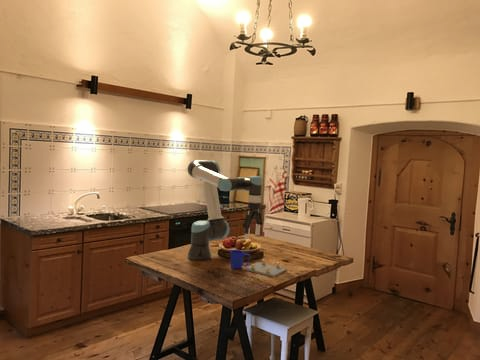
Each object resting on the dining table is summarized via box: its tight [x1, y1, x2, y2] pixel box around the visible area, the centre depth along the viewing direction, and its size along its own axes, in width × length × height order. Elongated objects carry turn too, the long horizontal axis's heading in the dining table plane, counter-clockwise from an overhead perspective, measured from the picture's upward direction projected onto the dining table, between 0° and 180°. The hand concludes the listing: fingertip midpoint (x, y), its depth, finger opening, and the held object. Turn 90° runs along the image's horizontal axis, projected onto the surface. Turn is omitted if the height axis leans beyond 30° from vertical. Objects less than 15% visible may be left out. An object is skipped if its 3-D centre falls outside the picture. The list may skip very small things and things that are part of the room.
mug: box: [229, 249, 251, 270], centre depth 242 cm, size 8×12×10 cm
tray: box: [243, 258, 287, 278], centre depth 241 cm, size 20×16×4 cm
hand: (252, 236), depth 243 cm, fingers open, 13 cm apart
